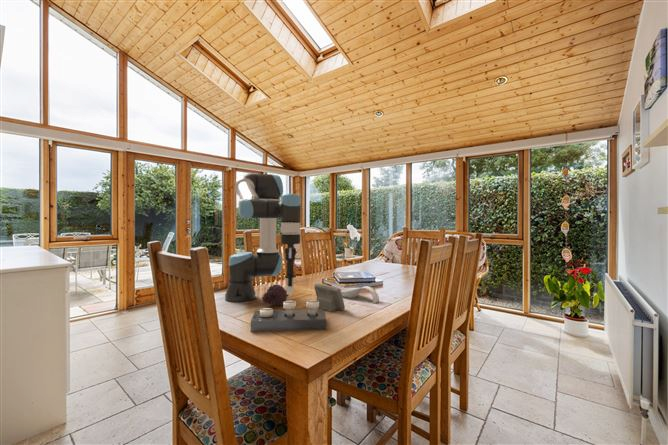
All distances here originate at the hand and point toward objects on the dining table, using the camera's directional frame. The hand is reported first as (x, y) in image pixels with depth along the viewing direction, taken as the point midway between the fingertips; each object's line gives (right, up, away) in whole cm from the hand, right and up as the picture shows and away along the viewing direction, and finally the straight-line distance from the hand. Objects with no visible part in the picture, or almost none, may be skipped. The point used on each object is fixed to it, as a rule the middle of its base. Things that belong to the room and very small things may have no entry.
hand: (290, 293), depth 120 cm
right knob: (+9, -9, +1) cm, 13 cm away
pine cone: (-11, -12, +26) cm, 31 cm away
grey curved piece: (+30, -13, +42) cm, 53 cm away
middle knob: (0, -9, 0) cm, 9 cm away
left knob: (-9, -12, -1) cm, 15 cm away
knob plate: (0, -12, 0) cm, 12 cm away
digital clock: (+15, -13, +24) cm, 31 cm away
